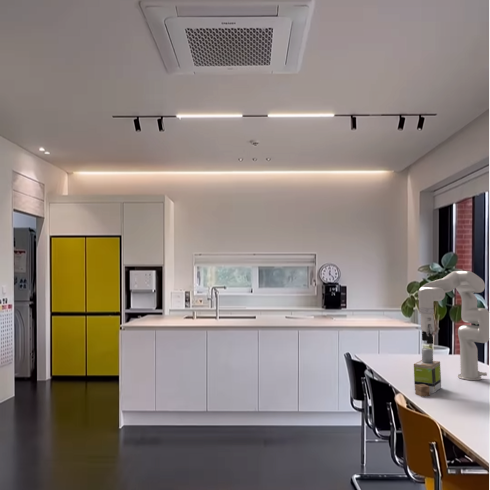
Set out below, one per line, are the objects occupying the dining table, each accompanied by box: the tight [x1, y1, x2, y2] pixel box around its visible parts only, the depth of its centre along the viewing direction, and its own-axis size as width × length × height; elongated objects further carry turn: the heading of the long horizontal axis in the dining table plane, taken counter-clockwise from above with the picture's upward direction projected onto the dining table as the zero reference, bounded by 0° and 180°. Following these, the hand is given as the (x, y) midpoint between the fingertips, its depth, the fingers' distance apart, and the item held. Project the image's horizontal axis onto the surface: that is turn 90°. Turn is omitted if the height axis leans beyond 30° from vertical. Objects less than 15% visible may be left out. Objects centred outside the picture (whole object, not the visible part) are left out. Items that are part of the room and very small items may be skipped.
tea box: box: [413, 359, 442, 394], centre depth 251 cm, size 15×10×15 cm, turn 141°
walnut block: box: [414, 384, 431, 398], centre depth 240 cm, size 5×5×5 cm
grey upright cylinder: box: [421, 347, 434, 363], centre depth 252 cm, size 6×6×7 cm
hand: (427, 342), depth 253 cm, fingers open, 9 cm apart
